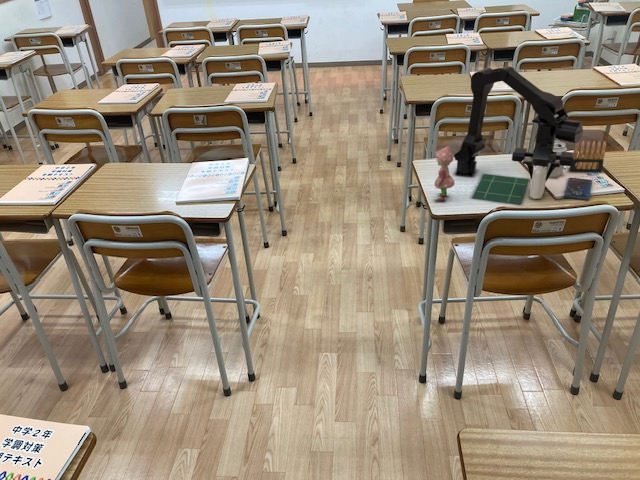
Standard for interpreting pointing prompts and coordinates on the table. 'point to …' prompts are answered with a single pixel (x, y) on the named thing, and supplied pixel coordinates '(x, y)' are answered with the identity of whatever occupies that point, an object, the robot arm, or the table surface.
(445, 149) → the cartoon character
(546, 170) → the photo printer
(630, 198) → the table surface
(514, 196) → the cutting mat
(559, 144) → the can
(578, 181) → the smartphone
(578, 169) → the ammunition clip
